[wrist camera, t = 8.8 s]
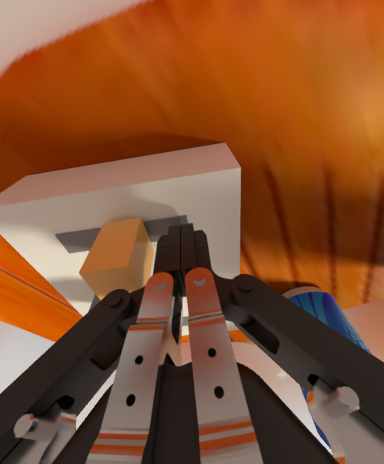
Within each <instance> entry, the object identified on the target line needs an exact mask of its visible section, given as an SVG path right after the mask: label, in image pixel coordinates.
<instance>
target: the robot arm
mask: <svg viewBox="0 0 384 464" xmlns="http://www.w3.org/2000/svg"><path fill="white" fill-rule="evenodd" d="M183 297H187V305H188V315H189V320H188V329H189V339H190V349H191V359H192V362H190V363H188V364H185V365H183V366H182V355H181V335H182V321H183ZM225 320H226V321H230V322H233V323H234V325H235V326H236V327H237V328H238V329H240V330H241V331H242V332H243V333H244V334H245V335H246V336H247V337H248V338H249V339H250V340H252V341H253V342H254V343H255V344H256V345H257V346H258V347H259V348H260V349H261V350H262V351H264V352H265V353H266V354H267V355H268V356H269V357H270V358H271V359H272V360H273V361H275V363H277V364H278V365H279V366H280V367H281V368H282V369H283V370H284V371H285V372H286V373H287V374H289V375H290V376H291V377H292V378H293V379H294V380H295V381H296V382H297V383H298V384H299V385H300V386H302V387H303V388H304V389H305V390H306V391H307V392H308V394H307V406H308V410H309V412H310V414H311V416H312V418H313V420H314V421H315V423H316V424H317V425H318V426H319V427H320V429H321V430H322V431H323V433H324V434H325V436H326V438H327V440H328V442H329V444H330V447H331V450H332V455H333V456H332V455H331V454H330V453H329V452H328V450H327V449H326V448H325V447H324V446H323V445H322V444H321V443H320V442H319V441H318V440H317V438H316V437H314V435H313V434H312V433H311V432H310V431H309V430H308V429H307V428H306V426H305V425H304V424H303V423H302V422H301V421H300V420H299V419H298V418H297V417H296V416H295V414H294V413H293V412H292V411H291V410H290V409H289V408H288V407H287V406H286V405H285V403H284V402H283V401H282V400H281V399H280V398H279V397H278V396H277V395H276V394H275V393H274V391H273V390H272V389H271V388H270V387H269V386H268V385H267V384H266V383H265V382H264V381H263V379H262V378H261V377H260V376H259V375H257V374H256V373H255V372H254V371H253V370H251V369H249V368H248V367H246V366H245V365H243V364H240V363H238V362H236V360H235V356H234V352H233V348H232V344H231V340H230V336H229V332H228V328H227V324H226V321H225ZM117 367H118V368H117ZM116 368H117V372H116V375H115V379H114V383H113V384H112V385H111V386H110V387H109V388H108V389H107V391H106V392H105V393H104V394H103V396H102V397H101V398H100V400H99V401H98V403H97V404H96V405H95V406H94V408H93V409H92V410H91V412H90V413H89V414H88V416H87V417H86V418H85V420H84V421H83V422H82V424H81V425H80V426H79V428H78V429H77V430H76V417H77V416H78V415H79V414H80V412H81V411H82V410H83V409H84V408H85V406H86V405H87V404H88V402H89V401H90V400H91V399H92V398H93V396H94V395H95V394H96V393H97V391H98V390H99V389H100V388H101V387H102V385H103V384H104V383H105V382H106V380H107V379H108V378H109V377H110V376H111V374H112V373H113V372H114V371H115V369H116ZM0 464H384V362H382V361H381V360H379V359H378V358H376V357H375V356H373V355H372V354H370V353H369V352H367V351H366V350H364V349H362V348H361V347H359V346H358V345H356V344H355V343H353V342H352V341H350V340H349V339H347V338H346V337H344V336H343V335H341V334H340V333H338V332H337V331H335V330H334V329H332V328H331V327H329V326H328V325H326V324H325V323H323V322H322V321H320V320H319V319H317V318H316V317H314V316H313V315H311V314H310V313H308V312H307V311H305V310H304V309H302V308H301V307H299V306H298V305H296V304H295V303H293V302H292V301H290V300H289V299H287V298H286V297H284V296H283V295H281V294H280V293H278V292H277V291H275V290H274V289H272V288H271V287H269V286H268V285H266V284H264V283H263V282H261V281H260V280H258V279H257V278H255V277H254V276H251V275H248V274H241V275H238V276H236V277H234V278H233V279H227V278H222V277H220V276H218V275H217V274H215V273H214V271H213V270H212V267H211V261H210V254H209V248H208V241H207V235H206V234H205V232H204V231H203V230H197V231H194V226H193V223H188V224H181V225H174V226H169V228H168V235H161V237H160V238H159V240H158V241H157V249H156V255H155V262H154V270H153V275H152V276H151V277H150V278H149V279H148V281H147V283H146V285H145V286H144V287H142V288H140V289H138V290H135V291H133V292H131V293H129V292H128V291H127V290H125V289H116V290H114V291H112V292H110V293H109V294H107V295H106V296H105V297H104V298H103V299H102V300H101V301H100V302H99V303H98V304H97V305H95V306H94V307H93V308H92V309H91V310H90V311H89V312H88V313H87V314H86V315H85V316H84V317H83V318H81V319H80V320H79V321H78V322H77V323H76V324H75V325H74V326H73V327H72V328H71V329H70V330H69V331H68V332H66V333H65V334H64V335H63V336H62V337H61V338H60V339H59V340H58V341H57V342H56V343H55V344H54V345H53V346H51V347H50V348H49V349H48V350H47V351H46V352H45V353H44V354H43V355H42V356H41V357H40V358H38V359H37V360H36V361H35V362H34V363H33V364H32V365H31V366H30V367H29V368H28V369H27V370H26V371H25V372H24V373H22V374H21V375H20V376H19V377H18V378H17V379H16V380H15V381H14V382H13V383H12V384H10V386H8V387H7V388H6V389H5V390H4V391H3V392H2V393H1V394H0Z"/></svg>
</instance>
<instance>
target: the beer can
mask: <svg viewBox="0 0 384 464" xmlns="http://www.w3.org/2000/svg"><path fill="white" fill-rule="evenodd" d="M282 295H283V296H284V297H286V298H287V299H289V300H290V301H292V302H293V303H295V304H296V305H298V306H299V307H301V308H302V309H304V310H305V311H307V312H308V313H310V314H311V315H313V316H314V317H316V318H317V319H319V320H320V321H322V322H323V323H325V324H326V325H328V326H329V327H331V328H332V329H334V330H335V331H337V332H338V333H340V334H341V335H343V336H344V337H346V338H347V339H349V340H350V341H352V342H353V343H355V344H356V345H358V346H359V347H361V348H362V349H364V350H366V351H367V352H369V353H370V354H371V352H370V351H369V349H368V348H367V346H366V345H365V344H364V342H363V340H362V339H361V338H360V336H359V334H358V333H357V331H356V330H355V328H354V327H353V326H352V324H351V323H350V321H349V320H348V318H347V317H346V315H345V314H344V312H343V311H342V309H341V308H340V306H339V305H338V303H337V302H336V300H335V299H334V297H333V296H332V295H331V294H329V293H327V292H324V291H322V290H321V289H319V288H317V287H313V286H304V287H298V288H295V289H292V290H289V291H287V292H285V293H284V294H282ZM300 387H301V389H302V392H303V395H304V397H305V400H306V403H307V394H308V392H307V391H306V390H305V389H304V388H303V387H302V386H300ZM312 419H313V418H312ZM313 421H314V420H313ZM314 424H315V427H316V429H317V432H318V434H319V435H320V437H321V438H322V439H323V440H324V442H325V443H326V444H327V445H328V446H329V447H330V444H329V442H328V440H327V438H326V436H325V434H324V433H323V431H322V430H321V429H320V427H319V426H318V425H317V424H316V423H315V421H314ZM330 449H331V447H330Z"/></svg>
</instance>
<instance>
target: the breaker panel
mask: <svg viewBox="0 0 384 464" xmlns="http://www.w3.org/2000/svg"><path fill="white" fill-rule="evenodd" d="M240 209H241V167H240V165H239V164H238V162H237V160H236V159H235V157H234V156H233V154H232V152H231V151H230V149H229V147H228V146H227V144H226V143H219V144H213V145H207V146H201V147H195V148H189V149H183V150H177V151H171V152H165V153H159V154H153V155H147V156H141V157H135V158H129V159H123V160H117V161H111V162H105V163H99V164H93V165H87V166H81V167H75V168H69V169H63V170H57V171H51V172H45V173H39V174H33V175H28V176H25V177H23V178H22V179H20V180H19V181H18V182H16V183H15V184H13V185H12V186H10V187H9V188H7V189H6V190H4V191H3V192H1V193H0V234H1V235H2V236H3V237H4V238H5V239H6V240H7V241H8V242H9V243H10V244H11V245H12V246H13V247H14V248H15V249H16V250H17V251H18V252H19V253H20V254H21V255H22V256H23V257H24V258H25V259H26V260H27V261H28V262H29V263H30V264H31V265H32V266H33V267H34V268H35V269H36V270H37V271H38V272H39V273H40V274H41V275H42V276H43V277H44V278H45V279H46V280H47V281H48V282H49V283H50V284H51V285H52V286H53V287H54V288H55V289H56V290H57V291H58V292H59V293H60V294H61V295H62V296H63V297H64V298H65V299H66V300H67V301H68V302H69V303H70V304H71V305H72V306H73V307H74V308H75V309H76V310H77V311H78V312H79V313H80V314H81V315H82V316H83V317H84V316H85V315H86V314H87V313H88V311H89V308H90V306H91V303H92V301H93V298H94V296H95V293H94V291H93V290H92V289H91V288H90V287H89V285H88V284H87V283H86V282H85V280H84V279H83V278H82V277H81V275H80V274H79V271H80V269H81V267H82V265H83V263H84V261H85V259H86V257H87V255H88V253H89V251H90V249H91V247H92V245H93V244H94V242H95V240H96V238H97V236H98V234H99V232H100V230H101V228H102V226H103V224H104V223H105V222H112V221H119V220H125V219H132V218H139V217H141V218H142V221H143V223H144V226H145V229H146V231H147V234H148V236H149V239H150V242H151V244H152V247H153V250H154V254H153V261H152V268H151V274H150V277H151V276H152V275H153V270H154V262H155V255H156V249H157V241H158V240H159V238H160V237H161V235H168V228H169V226H174V225H181V224H188V223H193V226H194V231H197V230H203V231H204V232H205V234H206V235H207V241H208V248H209V254H210V261H211V267H212V270H213V271H214V273H215V274H217V275H218V276H220V277H222V278H227V279H233V278H234V277H236V276H238V275H240ZM188 320H189V315H188V305H187V297H183V321H182V335H181V336H183V335H189V329H188ZM225 321H226V320H225ZM226 324H227V328H228V331H229V330H238V328H237V327H236V326H235V325H234V323H233V322H230V321H226Z"/></svg>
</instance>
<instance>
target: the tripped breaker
mask: <svg viewBox="0 0 384 464" xmlns="http://www.w3.org/2000/svg"><path fill="white" fill-rule="evenodd" d="M153 254H154V250H153V247H152V244H151V242H150V239H149V236H148V234H147V231H146V229H145V226H144V223H143V221H142V218H141V217H139V218H132V219H125V220H119V221H112V222H105V223H104V224H103V226H102V228H101V230H100V232H99V234H98V236H97V238H96V240H95V242H94V244H93V245H92V247H91V249H90V251H89V253H88V255H87V257H86V259H85V261H84V263H83V265H82V267H81V269H80V271H79V274H80V275H81V277H82V278H83V279H84V280H85V282H86V283H87V284H88V285H89V287H90V288H91V289H92V290H93V291H94V293H95V294H96V295H97V296H98V298H99V299H100V300H102V299H103V298H104V297H105V296H106V295H107V294H109V293H110V292H112V291H114V290H116V289H125V290H127V291H128V292H129V293H131V292H133V291H135V290H138V289H140V288H142V287H144V286H145V285H146V283H147V281H148V279H149V278H150V274H151V268H152V261H153Z"/></svg>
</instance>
